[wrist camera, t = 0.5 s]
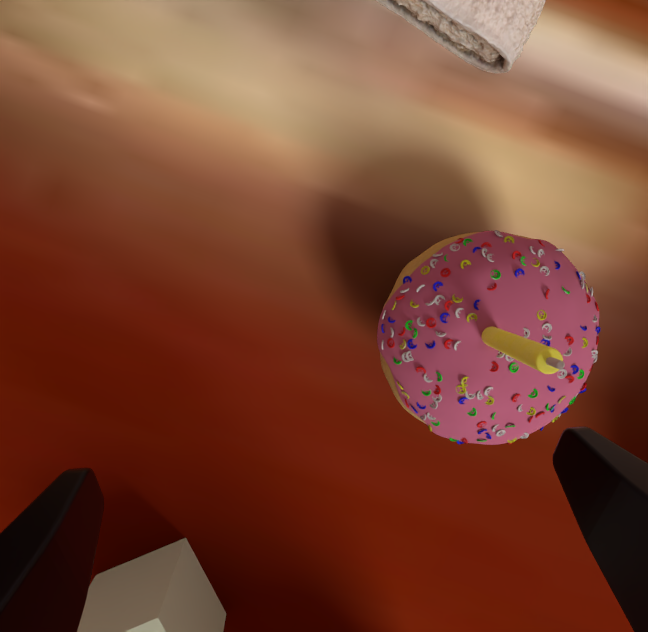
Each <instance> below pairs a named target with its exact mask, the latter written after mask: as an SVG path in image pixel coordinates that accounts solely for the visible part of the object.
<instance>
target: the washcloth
mask: <svg viewBox="0 0 648 632" xmlns="http://www.w3.org/2000/svg"><path fill="white" fill-rule="evenodd" d="M376 1H377V2H379V3H380V4H382V5H383V6H385V7H386V8H387V9H389V10H391V11H393V12H394V13H396V14H398V15H400V16H401V17H403V18H404V19H405V20H406V21H408V22H409V23H410V24H412V25H413V26H415V27H417V28H418V29H420V30H421V31H423V32H424V33H425V34H426V35H427V36H429V37H430V38H432V39H433V40H434V41H436V42H437V43H439V44H441V45H442V46H443V47H445V48H446V49H448V50H449V51H450V52H452V53H454V54H455V55H456V56H458V57H459V58H461V59H462V60H464V61H465V62H467V63H469V64H471V65H473V66H475V67H477V68H479V69H481V70H484V71H487V72H490V73H506V72H508V71H509V70H510V69H511V67H512V65H513V62H514V61H515V60H516V59H518V58H519V57H520V53H521V52H522V51H523V46H524V44H525V43H526V42H527V40H528V39H529V36H530V33H531V30H532V29H533V28H534V27H535V25H536V23H537V19H538V17H539V16H540V14H541V11H542V8H543V6H544V4H545V0H376Z"/></svg>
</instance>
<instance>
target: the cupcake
mask: <svg viewBox="0 0 648 632" xmlns="http://www.w3.org/2000/svg"><path fill="white" fill-rule="evenodd" d="M561 251H564V249H558V248H556V247H555V246H554V245H552V244H551V243H549V242H547V241H544V240H539V239H531V238H527V237H523V236H518V235H513V234H508V233H504V232H499V231H497V230H495V231H483V232H473V233H466V234H461V235H457V236H453V237H450V238H447V239H445V240H442V241H440V242H438V243H436V244H434V245H433V246H431V247H430V248H428V249H427V250H426V251H424V252H423V253H422V254H420V255H419V256H418V257H416V258H415V259H413V260H412V261H410V262H409V263H408V264H407V265H406V266H405V267H404V268H403V270H402V271H401V273H400V275H399V277H398V279H397V281H396V283H395V285H394V287H393V289H392V292H391V294H390V295H389V297H388V299H387V301H386V303H385V304H384V307H383V310H382V312H381V315H380V319H379V324H378V331H377V343H378V348H379V350H380V358H381V365H382V369H383V372H384V374H385V376H386V378H387V380H388V382H389V384H390V386H391V389H392V391H393V393H394V395H395V397H396V399H397V400H398V401H399V403H400V404H401V405H402V406H403V408H404V409H405V410H407V411H408V412H409V413H410V414H411V415H413V416H414V417H415V418H417V419H418V420H420V421H422V422H423V423H425V424H427V426H428V428H429V430H430V431H432V432H434V433H435V434H437V435H439V436H442V437H445V438H448V439H450V441H457V443H458V444H463V443H477V444H489V445H495V444H503V443H507V444H511V443H513V442H515V441H516V440H517V439H519V438H527V437H528V436H529V434H530V433H532V432H534V431H536V430H538V429H540V430H541V431H542V429H543V427H544V426H545V425H547V424H548V423H549V422H551V421H552V422H555V421H556V420H557V418H558V417H560V414H561V413H564V412H566V411H567V410H568V408H567V406H568V405H569V404H570V405H571V404H572V403H573V402H574V401H575V399H576V397H577V395H578V393H583V392H585V391H586V386H587V384H586V383H585V381H586V379H587V377H588V375H589V372H590V371H591V370H592V367H593V363H595V362H596V361H597V354H598V351H597V344H598V342H599V337H598V333H599V332H600V327H599V308H598V305H597V302H596V300H595V298H594V297H593V287H591V288H590V289H589V288H588V286H587V284H586V282H585V281H584V280H585V274H584V272H582V271H580V272H578V271H577V269H576V268H575V267H574V265H573V264H572V263H571V262H570V261H569V260H568V258H567V257H566V256H565V255H564V254H563V253H562V252H561ZM580 274H582V276H583V278H582V276H581V275H580ZM594 359H595V360H594ZM583 386H584V387H583ZM582 390H583V391H582ZM565 409H566V410H565ZM564 410H565V411H564ZM459 441H460V442H459Z"/></svg>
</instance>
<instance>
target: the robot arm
mask: <svg viewBox="0 0 648 632" xmlns="http://www.w3.org/2000/svg"><path fill="white" fill-rule="evenodd" d="M553 465H554V468H555V471H556V473H557V476H558V478H559V480H560V483H561V485H562V487H563V490H564V492H565V494H566V497H567V499H568V501H569V504H570V506H571V509H572V511H573V513H574V516H575V518H576V520H577V523H578V525H579V527H580V530H581V532H582V534H583V536H584V538H585V540H586V543H587V544H588V546H589V548H590V550H591V552H592V554H593V556H594V558H595V560H596V562H597V563H598V565H599V567H600V569H601V571H602V573H603V575H604V576H605V578H606V580H607V582H608V584H609V586H610V588H611V589H612V591H613V593H614V595H615V597H616V599H617V600H618V602H619V604H620V606H621V608H622V610H623V612H624V613H625V615H626V617H627V619H628V621H629V623H630V625H631V626H632V628H633V630H634V632H648V463H646V462H644V461H643V460H641V459H640V458H638V457H636V456H635V455H633V454H631V453H630V452H628V451H626V450H625V449H623V448H621V447H620V446H618V445H617V444H615V443H613V442H612V441H610V440H608V439H607V438H605V437H603V436H602V435H600V434H599V433H597V432H595V431H594V430H592V429H590V428H588V427H572V428H567V429H565V430H564V431H563V433H562V435H561V437H560V440H559V442H558V444H557V447H556V449H555V451H554V454H553ZM103 509H104V498H103V494H102V492H101V489H100V487H99V484H98V482H97V479H96V476H95V474H94V472H93V470H92V469H90V468H78V469H69V470H66V471H64V472H63V473H62V474H61V475H60V476H58V477H57V478H56V479H55V480H54V481H53V482H52V483H51V484H50V485H49V486H48V487H47V488H46V489H45V490H44V491H43V492H42V493H41V494H40V495H39V496H38V497H37V498H36V499H35V500H34V501H33V502H32V503H31V504H30V505H29V506H28V507H27V508H26V509H25V510H24V511H23V512H22V513H21V514H20V515H19V516H18V517H17V518H16V519H15V520H14V521H13V522H12V523H11V524H10V525H9V526H8V527H7V528H5V529H4V530H3V531H2V532H1V533H0V632H77V630H78V627H79V623H80V620H81V617H82V613H83V610H84V606H85V602H86V598H87V594H88V589H89V584H90V579H91V574H92V568H93V563H94V558H95V552H96V547H97V541H98V536H99V531H100V525H101V520H102V515H103Z"/></svg>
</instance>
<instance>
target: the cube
mask: <svg viewBox="0 0 648 632" xmlns="http://www.w3.org/2000/svg"><path fill="white" fill-rule="evenodd" d="M225 619H226V612H225V610H224V608H223V606H222V604H221V603H220V601H219V599H218V597H217V595H216V593H215V591H214V589H213V588H212V586H211V584H210V582H209V580H208V578H207V576H206V574H205V573H204V571H203V569H202V567H201V565H200V563H199V561H198V559H197V558H196V556H195V554H194V552H193V550H192V548H191V546H190V544H189V543H188V541H187V539H186V538H184V539H181V540H179V541H177V542H174V543H172V544H169V545H167V546H164V547H162V548H160V549H157V550H155V551H152V552H150V553H148V554H145V555H143V556H140V557H138V558H136V559H133V560H131V561H128V562H126V563H124V564H121V565H119V566H116V567H114V568H112V569H109V570H107V571H104V572H102V573H100V574H97V575H96V576H95V578H94V579H93V581H92V583H91V584H90V586H89V589H88V594H87V598H86V602H85V606H84V610H83V613H82V617H81V620H80V623H79V627H78V630H77V632H223V630H224V625H225Z"/></svg>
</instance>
